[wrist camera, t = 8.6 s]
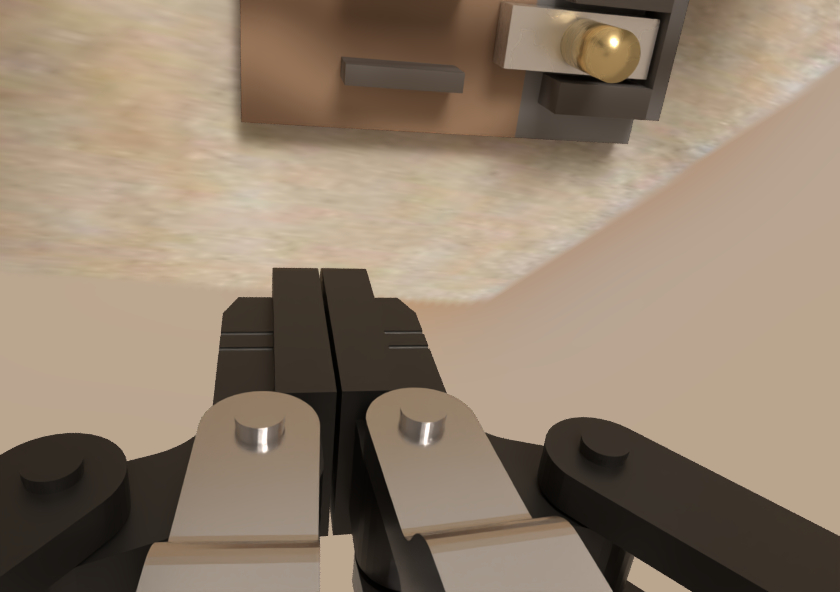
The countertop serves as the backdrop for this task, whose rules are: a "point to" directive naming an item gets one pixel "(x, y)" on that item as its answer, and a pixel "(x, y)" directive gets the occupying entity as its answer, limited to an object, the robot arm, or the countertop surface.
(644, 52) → the lock bolt
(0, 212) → the countertop surface
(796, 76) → the countertop surface
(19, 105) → the countertop surface
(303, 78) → the door board
